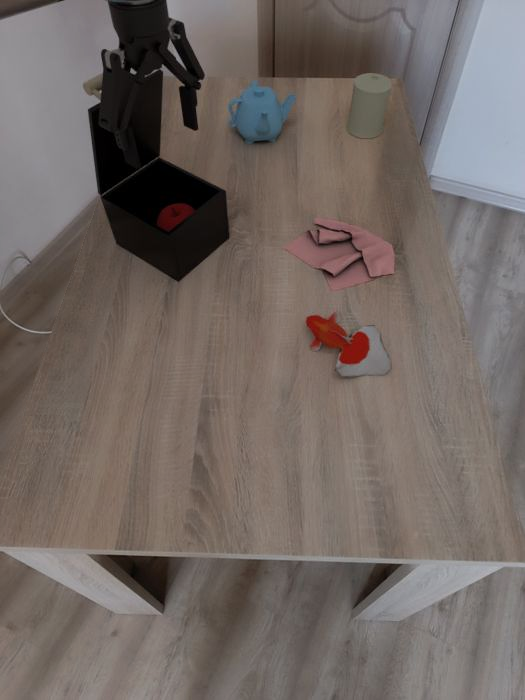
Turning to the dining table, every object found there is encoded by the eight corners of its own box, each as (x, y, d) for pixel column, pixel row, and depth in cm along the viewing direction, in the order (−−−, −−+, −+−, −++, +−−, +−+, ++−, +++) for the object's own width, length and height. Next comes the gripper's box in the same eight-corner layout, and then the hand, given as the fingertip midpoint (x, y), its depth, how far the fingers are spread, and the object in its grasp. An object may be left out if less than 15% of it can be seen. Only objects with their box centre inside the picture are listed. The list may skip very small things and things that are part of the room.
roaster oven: (229, 238, 99) (226, 190, 89) (178, 282, 92) (168, 236, 82) (168, 204, 105) (158, 156, 95) (116, 243, 98) (100, 196, 88)
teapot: (300, 132, 121) (303, 87, 112) (265, 157, 115) (265, 111, 106) (254, 112, 127) (253, 67, 117) (219, 134, 121) (215, 89, 111)
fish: (339, 291, 85) (351, 281, 75) (394, 360, 84) (413, 359, 74) (292, 329, 84) (297, 323, 74) (347, 398, 84) (360, 402, 74)
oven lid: (163, 71, 79) (131, 46, 79) (91, 112, 72) (56, 83, 72) (160, 156, 95) (133, 134, 96) (100, 195, 88) (72, 172, 89)
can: (384, 121, 124) (395, 73, 114) (379, 141, 119) (390, 92, 109) (349, 116, 125) (357, 68, 115) (343, 135, 120) (350, 87, 110)
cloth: (408, 278, 93) (411, 270, 91) (300, 296, 90) (301, 287, 88) (373, 211, 104) (375, 202, 102) (276, 225, 101) (276, 216, 99)
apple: (211, 252, 96) (206, 212, 87) (168, 265, 94) (159, 226, 85) (196, 224, 100) (190, 184, 92) (155, 236, 98) (145, 196, 90)
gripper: (79, 35, 54) (123, 191, 72) (220, -28, 66) (228, 120, 83) (38, 18, 57) (90, 173, 74) (180, -40, 68) (196, 106, 86)
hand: (163, 145), depth 79 cm, fingers open, 13 cm apart
